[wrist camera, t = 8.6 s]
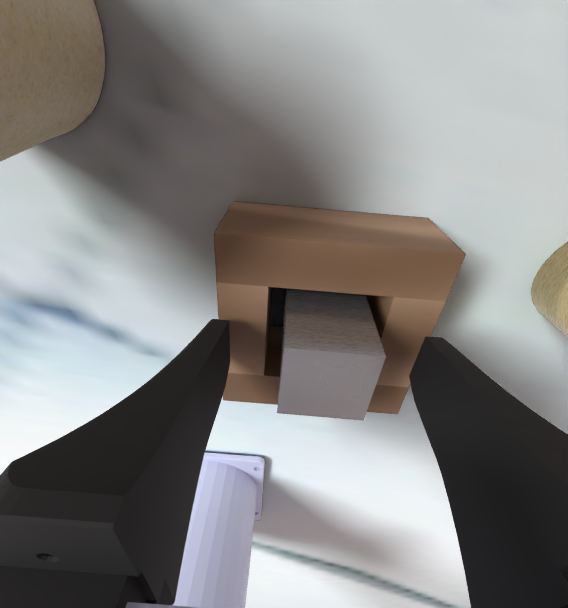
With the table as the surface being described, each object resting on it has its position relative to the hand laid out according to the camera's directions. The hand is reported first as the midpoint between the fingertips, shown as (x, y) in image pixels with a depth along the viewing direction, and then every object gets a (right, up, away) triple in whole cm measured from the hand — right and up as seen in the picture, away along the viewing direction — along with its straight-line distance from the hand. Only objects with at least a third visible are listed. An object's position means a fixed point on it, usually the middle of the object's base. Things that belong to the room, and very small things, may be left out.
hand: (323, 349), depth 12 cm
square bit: (0, +2, +3) cm, 4 cm away
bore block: (0, +2, +3) cm, 4 cm away
